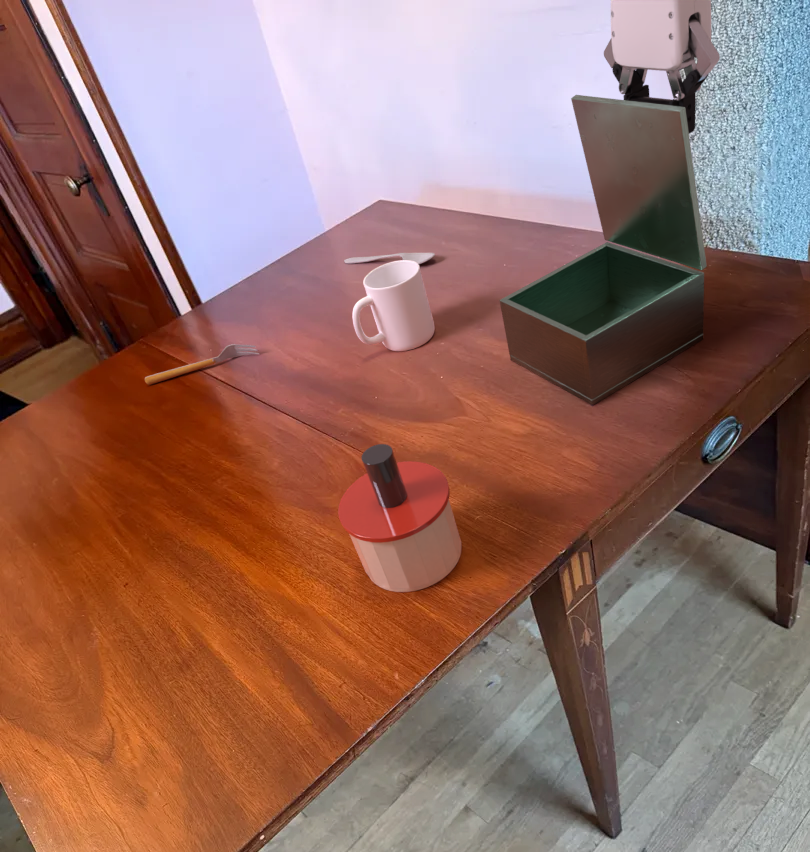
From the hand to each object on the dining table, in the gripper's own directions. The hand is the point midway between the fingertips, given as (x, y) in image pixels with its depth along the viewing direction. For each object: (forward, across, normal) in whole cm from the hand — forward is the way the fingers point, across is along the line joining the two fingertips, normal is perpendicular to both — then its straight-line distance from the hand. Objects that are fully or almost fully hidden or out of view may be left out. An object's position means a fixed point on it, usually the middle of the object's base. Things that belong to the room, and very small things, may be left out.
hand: (659, 130), depth 84 cm
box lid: (+5, 0, +4) cm, 6 cm away
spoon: (+24, +53, +13) cm, 60 cm away
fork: (+24, +49, +52) cm, 75 cm away
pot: (+22, -14, +48) cm, 55 cm away
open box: (+23, 0, +10) cm, 25 cm away
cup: (+23, +26, +27) cm, 44 cm away
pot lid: (+15, -14, +48) cm, 52 cm away
